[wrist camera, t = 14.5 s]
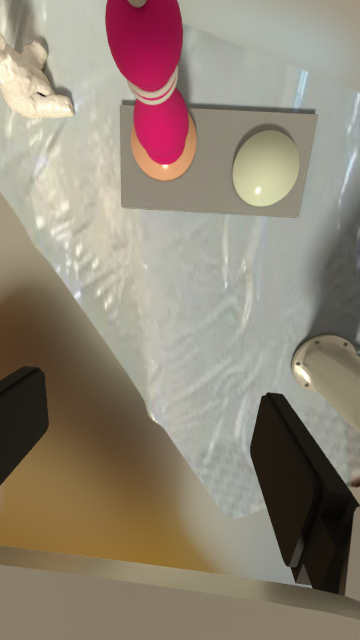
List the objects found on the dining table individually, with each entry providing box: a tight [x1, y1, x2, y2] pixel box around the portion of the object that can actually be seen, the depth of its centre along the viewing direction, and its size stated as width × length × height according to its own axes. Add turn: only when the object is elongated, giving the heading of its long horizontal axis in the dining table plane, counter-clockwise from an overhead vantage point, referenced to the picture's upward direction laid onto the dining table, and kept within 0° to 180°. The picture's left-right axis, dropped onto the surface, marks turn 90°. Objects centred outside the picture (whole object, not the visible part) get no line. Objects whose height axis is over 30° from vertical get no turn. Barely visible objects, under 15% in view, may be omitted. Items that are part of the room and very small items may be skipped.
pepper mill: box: [105, 0, 189, 165], centre depth 23 cm, size 7×7×20 cm
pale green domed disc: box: [232, 130, 299, 207], centre depth 33 cm, size 10×10×2 cm
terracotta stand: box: [131, 114, 197, 182], centre depth 33 cm, size 10×10×2 cm
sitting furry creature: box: [0, 33, 74, 119], centre depth 28 cm, size 10×9×12 cm
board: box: [120, 105, 318, 218], centre depth 35 cm, size 30×14×1 cm, turn 87°
